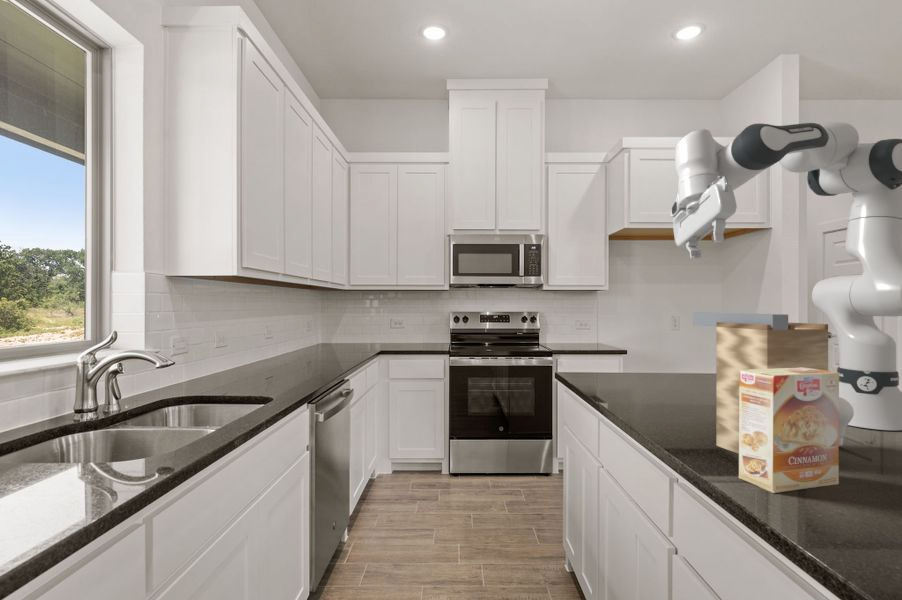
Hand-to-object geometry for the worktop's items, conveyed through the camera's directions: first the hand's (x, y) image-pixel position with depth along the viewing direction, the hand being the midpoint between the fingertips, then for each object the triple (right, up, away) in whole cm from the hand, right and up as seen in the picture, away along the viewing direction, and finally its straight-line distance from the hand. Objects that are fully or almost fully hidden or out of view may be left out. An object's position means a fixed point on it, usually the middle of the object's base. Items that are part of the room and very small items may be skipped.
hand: (706, 250), depth 104 cm
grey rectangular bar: (+5, -17, -3) cm, 18 cm away
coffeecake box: (+2, -43, -23) cm, 49 cm away
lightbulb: (+26, -43, -3) cm, 51 cm away
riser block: (+10, -43, -6) cm, 45 cm away
